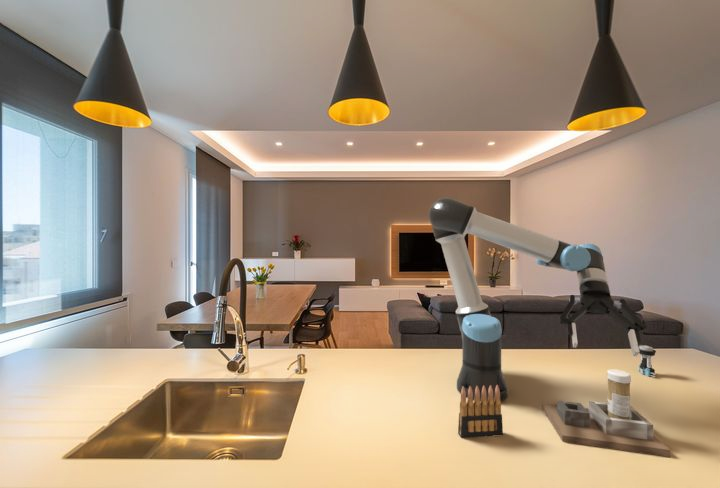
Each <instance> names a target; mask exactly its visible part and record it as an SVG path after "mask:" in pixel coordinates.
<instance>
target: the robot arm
mask: <svg viewBox="0 0 720 488" xmlns="http://www.w3.org/2000/svg"><path fill="white" fill-rule="evenodd" d="M428 219H429V223H430V225H431V228H432V232H433V236H434V239H435V241H436V242H437V243H439V244H440V245H441V249H442V253H443V258H444V259H445V264H446V267H447V270H448V274H449V278H450V281H451V284H452V289H453V292H454V296H455V299H456V303H457V308H456V310H455V315H456V319H457V323H458V326H459V331H460V333H461V340H462V363H461V368H460V371H459V374H458V376H457V379H456V390H457V392H458V393H460V394H461V390H462V387H463V386H464V388H465V392H466V398H468V390H469V387H470V386H471V388H472V392H473V400H474V398H475V389H476V386H478V388H479V392H480V402H481V394H482V388H483V386H485V388H486V394H487V401H488V390H489V387H490V385H491V386H492V389H493V399H495V388H496V386H497V385H498V386H499V390H500V401H501V402H502V401H505V400H506V399H507V398H508V386H507V383H506V379H505V376H504V374H503V370H502V335H503V328H502V324H501V322H500V320H499V318H496V317H494V316H492V314H491V311H490V308H489V304H487V303H485V302H484V301H483V299H482V296H481V291H480V289H479V285H478V283H477V278H476V275H475V272H474V268H473V265H472V260H471V257H470V254H469V250H468V247H467V243H466V240H465V237H466V235H467V234H469V235H472V236H474V237H476V238H479V239H482V240H485V241H488V242H491V243H493V244H496V245H499V246H502V247H504V248H506V249H510V250H512V251H515V252H518V253H520V254H524V255H526V256H529V257H531V258H535V263H536V264H537V265H539V266H543V267H549V268H556V269H560V270H561V269H562V270H567V271H569V272H576V275H577V281H578V286H579V288H578V289H579V294H580V295H579V296H580V297H578V296H577V297H576V296H575V295H574V294H570V295H569V299H568V303H567V305H566V307H565V309H564V310H563V311H562V313H561V314H560V316H559V320H558V323H559V324H563V325H565V328H566V334H567V335H568V336H571V343H572V348H573V349H577V347H578V336H577V327H576V326H577V325H576V322H577V321H578V320H579V319H580V318H581V317H582V316H584V315H585V314H587V313H588V312H590V313H591V314H600V315H604V314H605V315H607V316H608V317H611V318H612V319H613V320H614V321H616V322H617V323H618V324H620V325H621V326H622V327H624V328H625V329H626V330H627V331H628V333H627V336H628V341H629V345H630V349H631V354H632V356H633V357H637V356H638V355H640V353H639V352H640V351H639V347H640V346H639V345H640V343H641V341H642V338H641V336H640V334H642V333H645V331H646V329H647V327H648V326H647V325H645V324H644V322H643V321H642V320H641V319H640V318H639V317H638V315H636V313H634V312H633V310H632V309H631V308H630V307H629V306H628V304H627V302H626V300H625V299H623V298H620V300H613V298H612V295H611V291H610V286H609V281H608V278H607V273H606V272H607V271H606V269H605V262H604V255H603V254H602V250H601V249H600V247H599V246H598V245H596V244H594V243H585V244H584V243H580V244H579V245H578V244H570V243H568V242H564V241H563V240H558V239H557V238H553V237H550V236H547V235H544V234H542V233H539V232H536V231H533V230H530V229H527V228H524V227H522V226H519V225H516V224H513V223H510V222H507V221H504V220H502V219H499V218H496V217H494V216H490V215H487V214H484V213H482V212H479V211H477V208H476V207H475V206H471V205H469V204H467V203H465V202H462V201H459V200H458V199H455V198H452V197H441V198H438V199H436V200H435V201H434V202H433V203H432V204H431V206H430V208H429V210H428ZM578 303H580V305H581V307H580V308H579V309H578V310H577V311H576V312H574V313H573V314H572V315H570V312H571V311H572V309H573V307H574V305H577V304H578ZM616 308H617V309H618V310H619V311H620V312H619V311H618V310H617V309H616ZM569 315H570V316H569ZM568 316H569V318H568Z"/></svg>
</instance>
